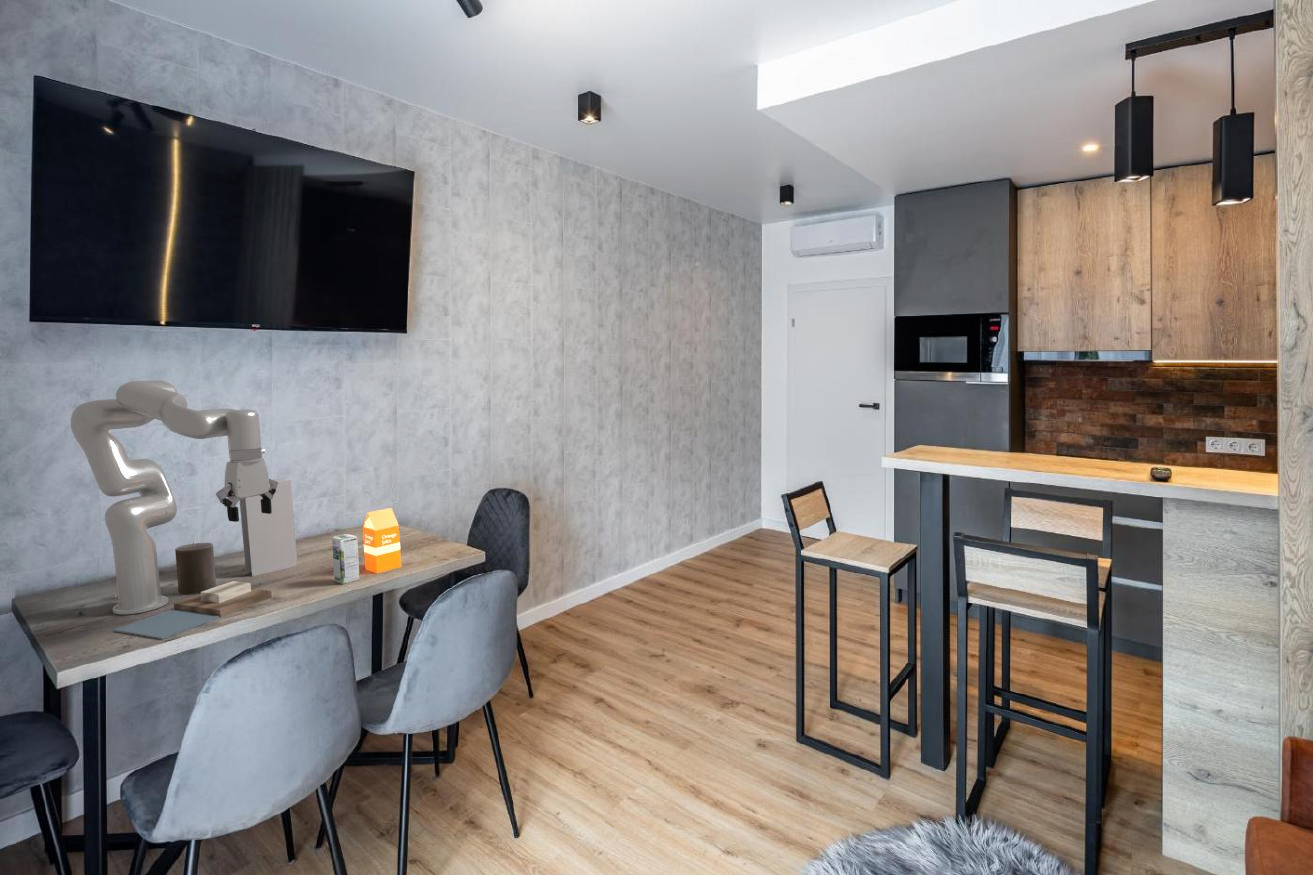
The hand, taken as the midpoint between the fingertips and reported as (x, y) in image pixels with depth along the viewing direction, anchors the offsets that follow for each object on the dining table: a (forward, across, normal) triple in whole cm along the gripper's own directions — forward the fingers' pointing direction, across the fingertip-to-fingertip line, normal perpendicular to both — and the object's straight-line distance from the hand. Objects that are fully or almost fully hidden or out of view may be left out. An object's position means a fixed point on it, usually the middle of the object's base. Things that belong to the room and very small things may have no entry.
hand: (250, 517), depth 180 cm
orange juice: (+27, -44, +3) cm, 52 cm away
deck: (+27, -2, -16) cm, 32 cm away
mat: (+27, +14, -16) cm, 35 cm away
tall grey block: (+28, -31, -32) cm, 52 cm away
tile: (+25, -3, -16) cm, 30 cm away
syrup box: (+27, -30, +2) cm, 40 cm away
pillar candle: (+28, -8, -37) cm, 47 cm away
